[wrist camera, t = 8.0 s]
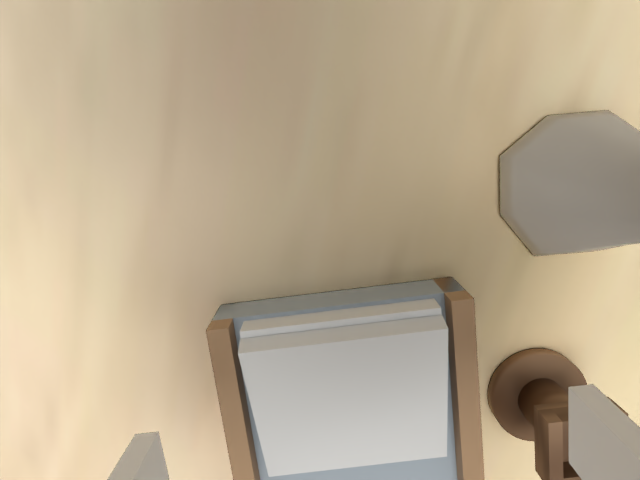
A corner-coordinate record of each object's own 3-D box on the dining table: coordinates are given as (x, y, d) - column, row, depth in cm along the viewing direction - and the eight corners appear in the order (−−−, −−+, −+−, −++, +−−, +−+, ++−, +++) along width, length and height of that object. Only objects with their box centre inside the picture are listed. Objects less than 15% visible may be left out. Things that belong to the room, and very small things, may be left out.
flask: (656, 222, 24) (898, 279, 14) (520, 277, 24) (660, 369, 14) (617, 84, 22) (855, 39, 12) (474, 146, 23) (593, 148, 13)
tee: (485, 354, 25) (529, 408, 20) (579, 343, 25) (647, 395, 20) (489, 437, 26) (532, 509, 21) (580, 426, 26) (644, 496, 21)
